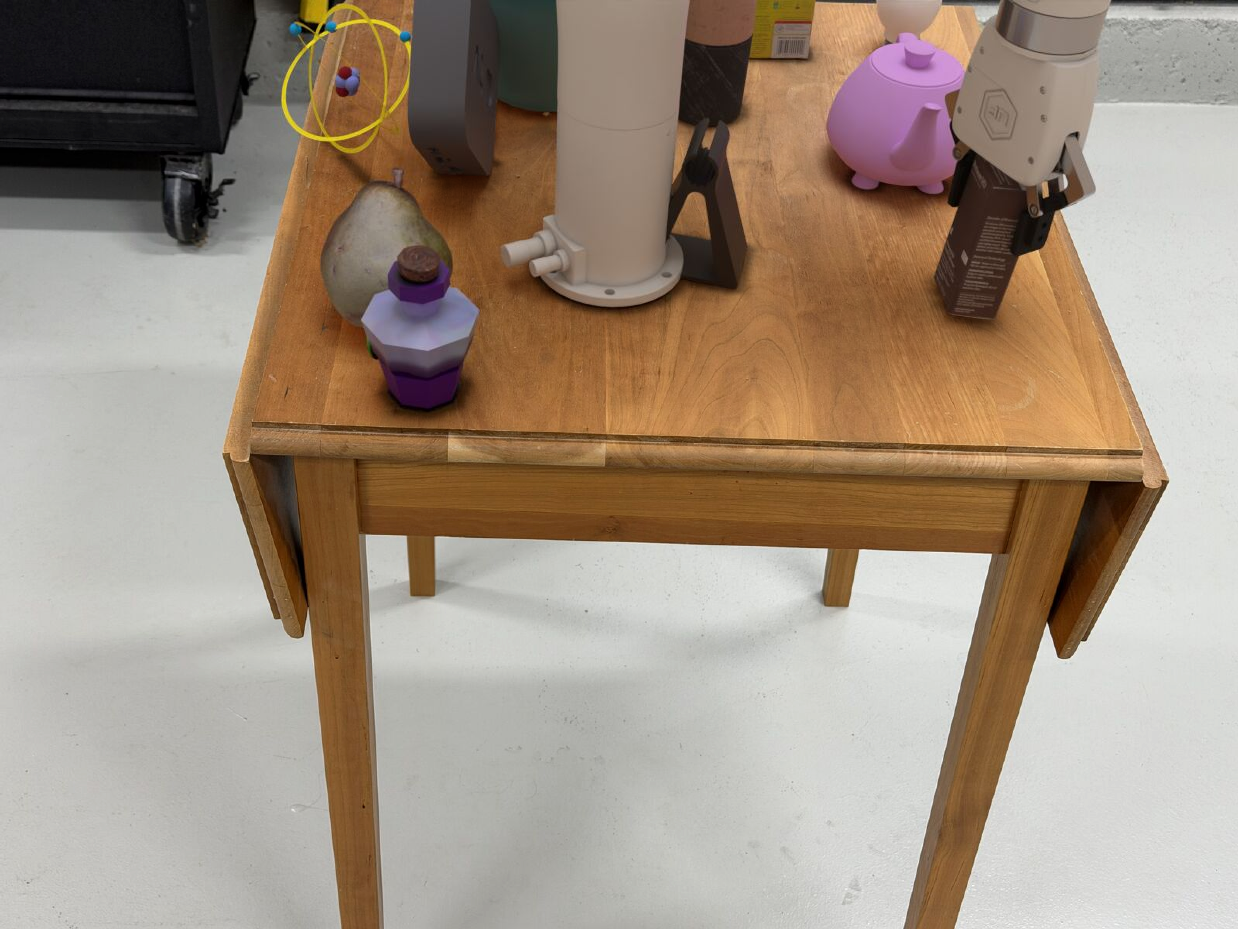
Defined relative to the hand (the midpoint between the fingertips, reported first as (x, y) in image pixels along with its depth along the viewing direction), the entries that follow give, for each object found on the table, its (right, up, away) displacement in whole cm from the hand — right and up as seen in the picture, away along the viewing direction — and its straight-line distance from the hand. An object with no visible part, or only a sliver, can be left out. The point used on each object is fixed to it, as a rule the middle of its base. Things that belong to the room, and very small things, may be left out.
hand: (994, 224), depth 114 cm
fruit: (-49, -8, -1) cm, 50 cm away
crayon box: (-14, +24, +36) cm, 46 cm away
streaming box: (-48, +15, +10) cm, 51 cm away
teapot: (-4, +8, +20) cm, 22 cm away
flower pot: (-38, +19, +28) cm, 50 cm away
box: (-2, -6, +4) cm, 7 cm away
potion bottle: (-45, -14, -7) cm, 48 cm away
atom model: (-53, +21, +9) cm, 58 cm away
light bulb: (-1, +24, +37) cm, 44 cm away
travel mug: (-22, +16, +26) cm, 38 cm away
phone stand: (-24, -2, +7) cm, 25 cm away
